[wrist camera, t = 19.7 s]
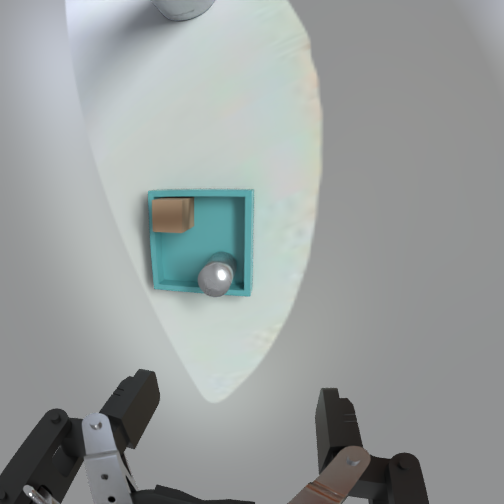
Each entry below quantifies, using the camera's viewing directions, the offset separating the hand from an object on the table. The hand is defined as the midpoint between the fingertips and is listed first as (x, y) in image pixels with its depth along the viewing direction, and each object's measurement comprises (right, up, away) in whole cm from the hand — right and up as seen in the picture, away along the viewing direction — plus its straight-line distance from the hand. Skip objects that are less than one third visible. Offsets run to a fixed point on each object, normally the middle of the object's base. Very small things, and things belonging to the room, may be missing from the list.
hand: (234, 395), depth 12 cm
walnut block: (-9, +12, +26) cm, 30 cm away
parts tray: (-6, +9, +28) cm, 30 cm away
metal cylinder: (-3, +5, +28) cm, 28 cm away
